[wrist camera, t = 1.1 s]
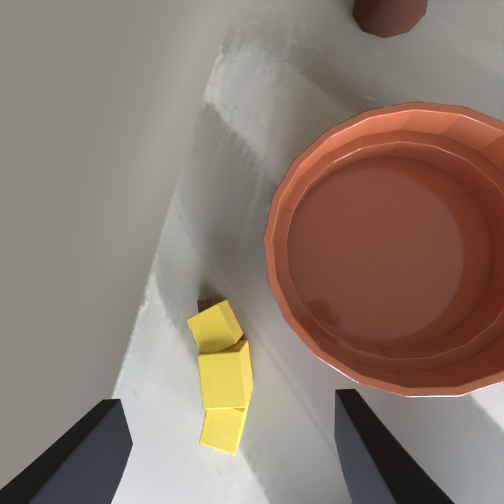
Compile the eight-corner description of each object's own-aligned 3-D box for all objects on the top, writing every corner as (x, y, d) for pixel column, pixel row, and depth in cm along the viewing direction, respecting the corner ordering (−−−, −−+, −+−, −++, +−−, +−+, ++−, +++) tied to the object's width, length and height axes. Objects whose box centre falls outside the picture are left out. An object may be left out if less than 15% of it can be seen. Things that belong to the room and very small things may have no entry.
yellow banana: (259, 431, 20) (253, 460, 17) (212, 432, 20) (198, 461, 17) (242, 293, 20) (233, 297, 18) (197, 298, 21) (181, 303, 18)
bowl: (482, 391, 17) (556, 440, 12) (252, 329, 20) (239, 349, 15) (525, 161, 18) (614, 120, 13) (295, 132, 21) (296, 89, 16)
